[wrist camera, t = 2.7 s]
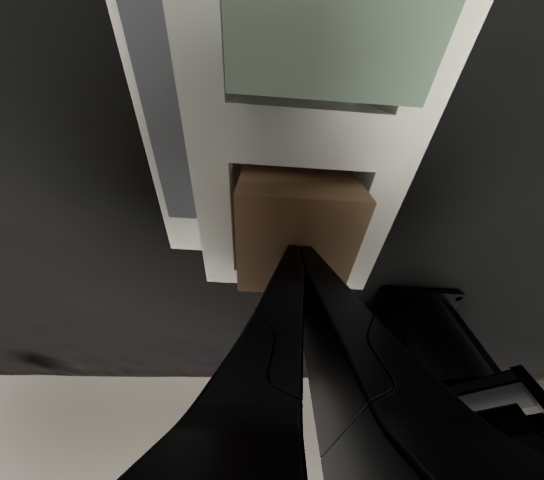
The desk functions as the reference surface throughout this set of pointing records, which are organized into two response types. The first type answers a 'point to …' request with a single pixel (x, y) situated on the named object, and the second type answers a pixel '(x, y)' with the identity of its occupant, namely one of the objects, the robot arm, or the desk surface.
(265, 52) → the sage key
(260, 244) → the walnut key
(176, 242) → the key panel
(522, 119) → the desk surface
